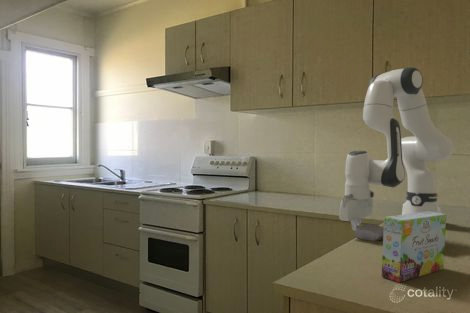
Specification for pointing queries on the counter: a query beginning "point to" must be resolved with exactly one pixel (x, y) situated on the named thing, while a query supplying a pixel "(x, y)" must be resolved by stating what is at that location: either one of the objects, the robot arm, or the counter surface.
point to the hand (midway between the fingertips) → (355, 230)
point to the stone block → (370, 232)
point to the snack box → (413, 245)
